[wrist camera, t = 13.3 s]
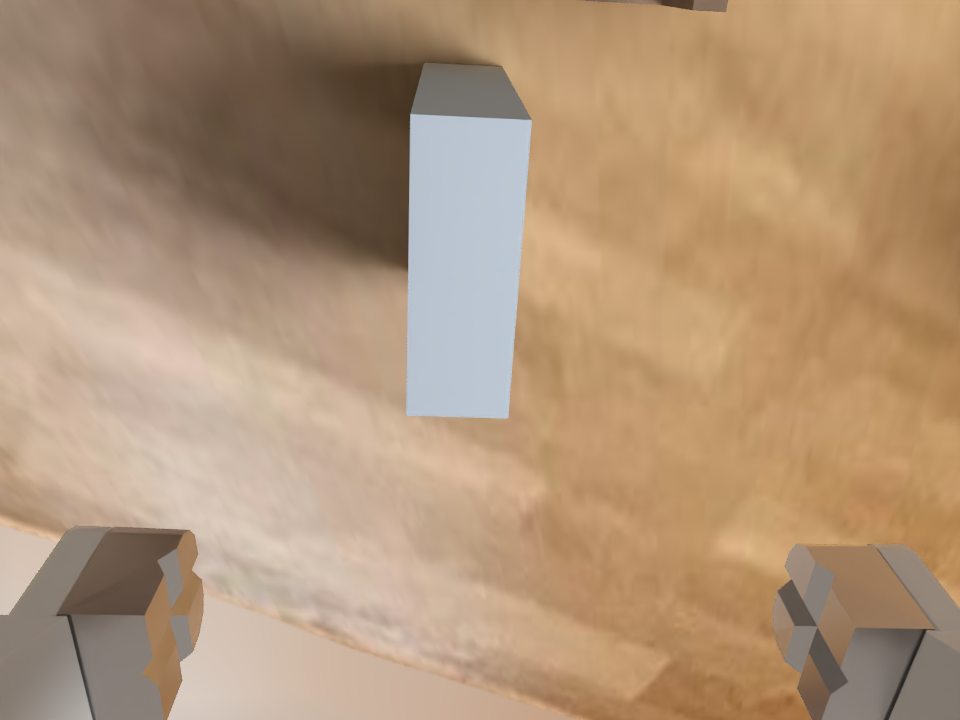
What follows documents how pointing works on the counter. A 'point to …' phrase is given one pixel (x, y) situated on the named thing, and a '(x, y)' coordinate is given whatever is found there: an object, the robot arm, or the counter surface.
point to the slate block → (464, 239)
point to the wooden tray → (681, 4)
